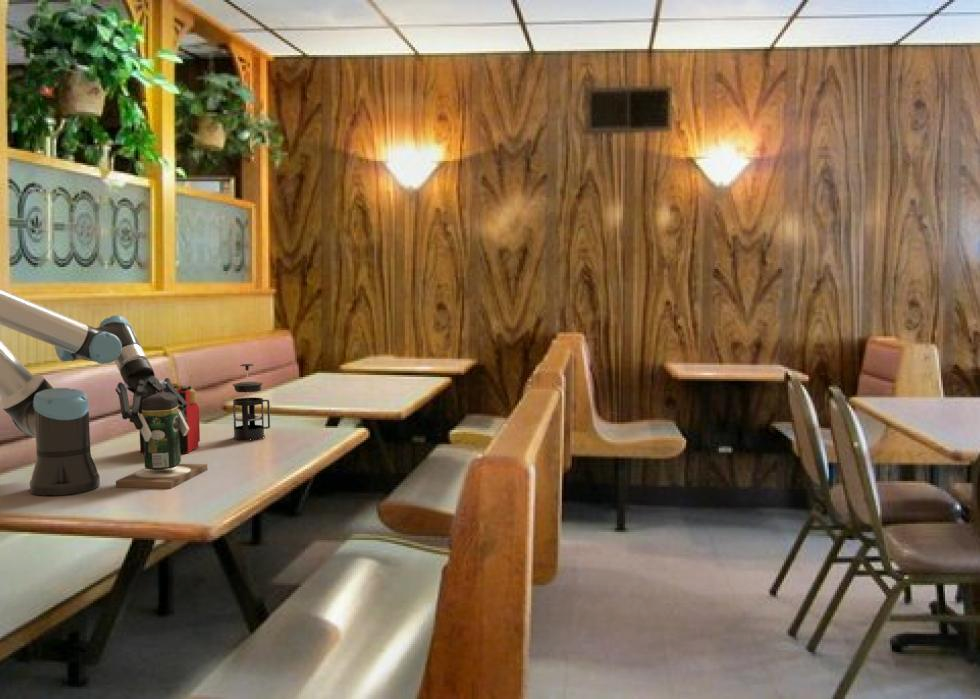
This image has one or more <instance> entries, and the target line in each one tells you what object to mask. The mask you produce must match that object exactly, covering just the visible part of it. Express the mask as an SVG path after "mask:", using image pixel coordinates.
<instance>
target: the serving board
mask: <svg viewBox="0 0 980 699" xmlns="http://www.w3.org/2000/svg"><path fill="white" fill-rule="evenodd" d="M206 471H208V464H207V463H205V464H204V463H179V464H178V465H177V466H176V467H174V468H171V469H163V470H151V469H146V468H143V469H140V470H137V471H136V472H135V471H134V472H133V473H131V474H129V475H126V476H124V477H122V478H119V479H117V480H115V487H116V488H139V489H141V488H146V489H151V488H152V489H172V488H175V487H176V486H179V485H180V484H183V483H184V482H187V481H189V480H190V479H192V478H194V477H196V476H199V475H200V474H202V473H204V472H206Z"/></svg>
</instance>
